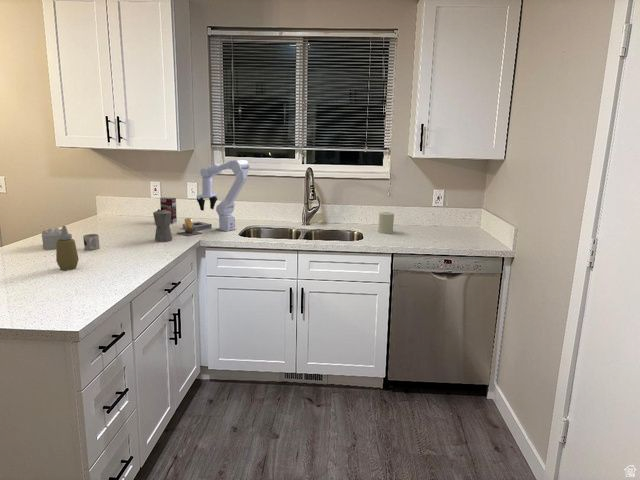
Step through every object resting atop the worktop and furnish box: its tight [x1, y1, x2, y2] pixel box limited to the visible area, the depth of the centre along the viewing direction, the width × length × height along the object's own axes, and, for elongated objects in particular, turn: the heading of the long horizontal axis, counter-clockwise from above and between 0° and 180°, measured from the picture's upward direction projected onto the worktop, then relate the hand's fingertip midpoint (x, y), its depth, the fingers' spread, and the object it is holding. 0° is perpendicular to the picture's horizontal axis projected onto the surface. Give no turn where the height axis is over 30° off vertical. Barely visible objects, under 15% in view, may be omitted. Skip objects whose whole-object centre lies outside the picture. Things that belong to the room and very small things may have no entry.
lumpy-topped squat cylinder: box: [41, 227, 62, 251], centre depth 219 cm, size 10×13×9 cm
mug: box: [82, 233, 101, 251], centre depth 216 cm, size 10×7×7 cm, turn 21°
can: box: [377, 211, 395, 235], centre depth 273 cm, size 9×9×12 cm
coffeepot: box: [152, 206, 173, 243], centre depth 238 cm, size 15×9×18 cm, turn 33°
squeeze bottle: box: [55, 225, 80, 271], centre depth 184 cm, size 8×8×18 cm
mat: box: [176, 230, 203, 237], centre depth 256 cm, size 10×10×1 cm
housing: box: [182, 221, 213, 232], centre depth 270 cm, size 12×12×2 cm
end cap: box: [184, 217, 194, 234], centre depth 255 cm, size 4×4×8 cm
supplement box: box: [159, 196, 178, 225], centre depth 283 cm, size 9×5×16 cm, turn 73°
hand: (207, 209), depth 274 cm, fingers open, 7 cm apart
